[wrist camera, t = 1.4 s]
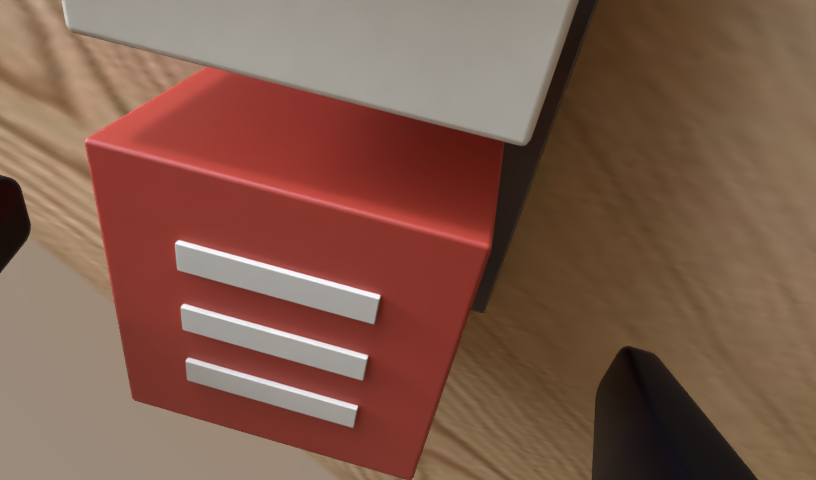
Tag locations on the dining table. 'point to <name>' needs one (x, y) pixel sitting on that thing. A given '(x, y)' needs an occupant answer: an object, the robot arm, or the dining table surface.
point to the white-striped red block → (293, 261)
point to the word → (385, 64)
